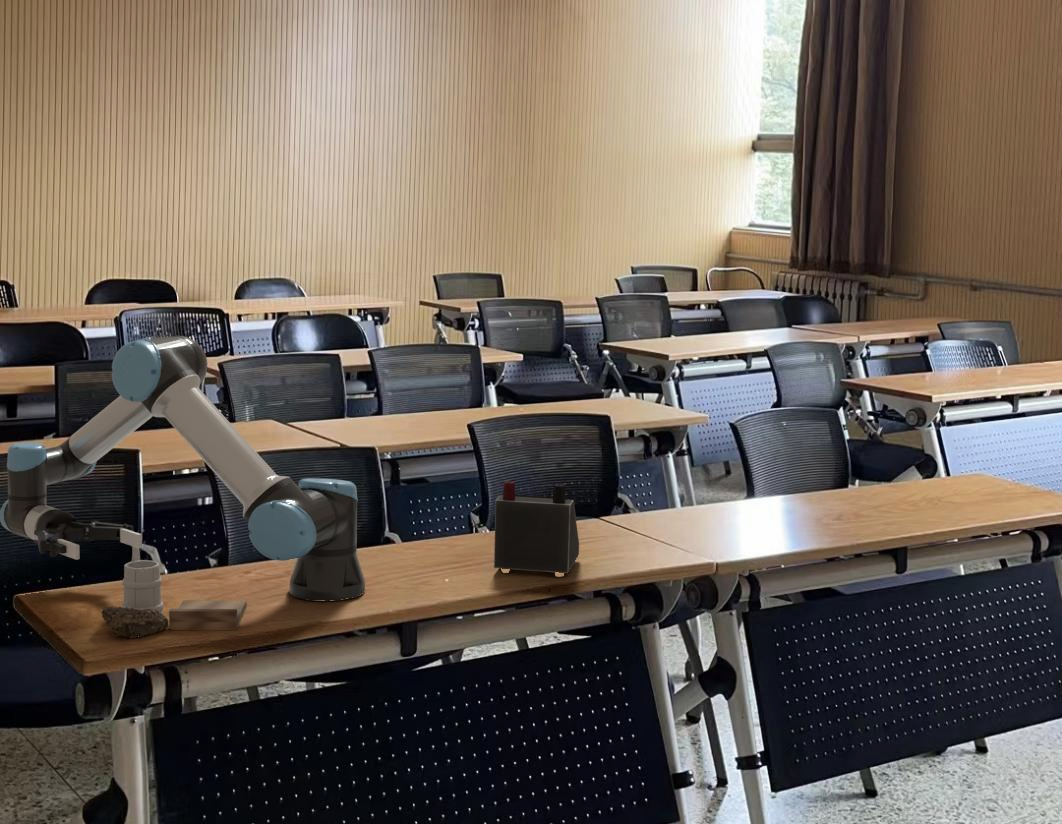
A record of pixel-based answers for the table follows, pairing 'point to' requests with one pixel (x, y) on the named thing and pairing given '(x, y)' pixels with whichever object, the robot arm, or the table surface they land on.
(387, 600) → the table surface
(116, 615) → the concrete sample
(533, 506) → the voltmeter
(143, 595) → the mug
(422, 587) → the table surface
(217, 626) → the rest board
